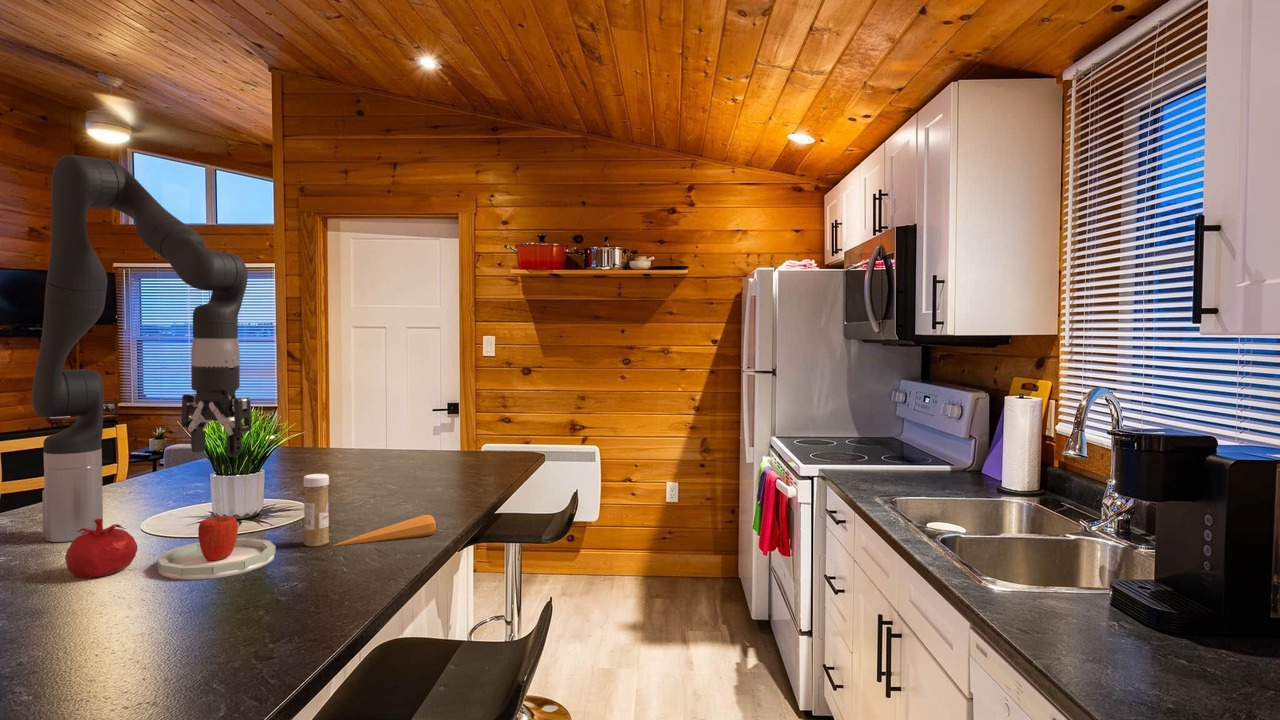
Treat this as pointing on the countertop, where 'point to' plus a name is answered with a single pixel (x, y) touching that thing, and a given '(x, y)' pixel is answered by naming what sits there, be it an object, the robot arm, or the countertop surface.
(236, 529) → the apple
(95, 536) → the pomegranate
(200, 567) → the dish
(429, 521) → the carrot
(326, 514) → the spice jar
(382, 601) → the countertop surface
